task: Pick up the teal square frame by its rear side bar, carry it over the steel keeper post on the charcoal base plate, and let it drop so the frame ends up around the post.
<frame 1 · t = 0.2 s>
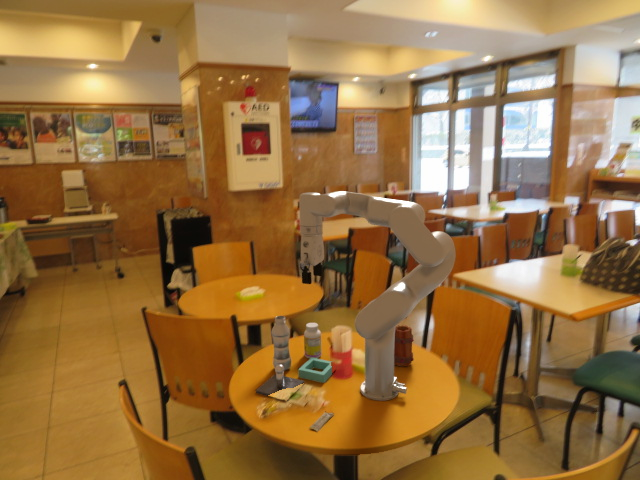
hand: (312, 279, 149), 36 cm above the table, tool pointing down, fingers open, 9 cm apart
mug: (395, 362, 165), on the table
supplement bottle: (313, 356, 171), on the table
snack bar: (322, 423, 129), on the table
teal square frame: (317, 373, 157), on the table
keeper: (280, 388, 148), on the table
plastic bottle: (282, 369, 162), on the table
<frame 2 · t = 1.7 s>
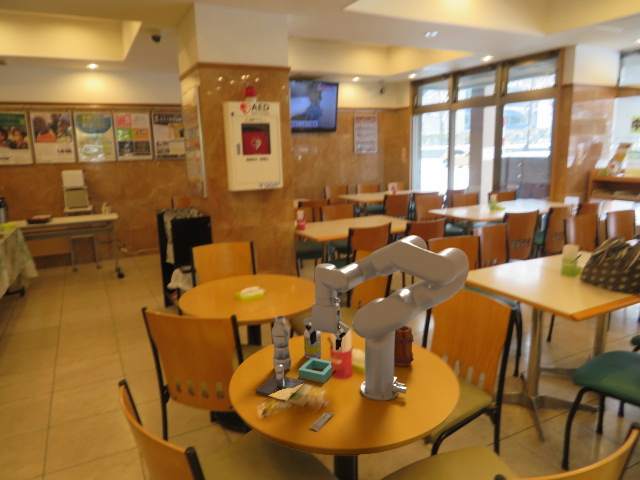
hand: (325, 345, 154), 11 cm above the table, tool pointing down, fingers open, 9 cm apart
nothing on the table moved.
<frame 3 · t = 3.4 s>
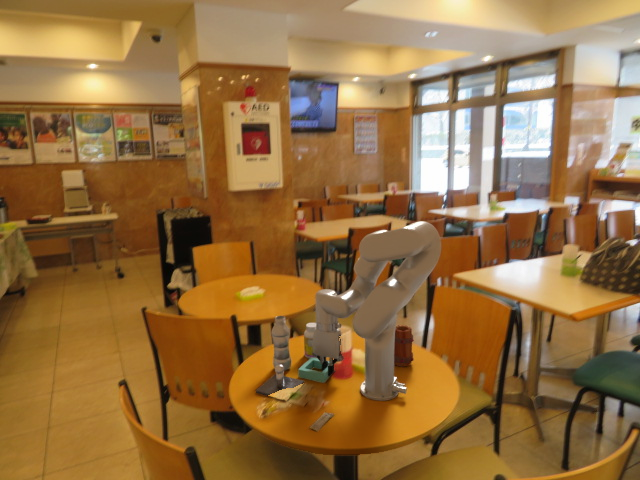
hand: (328, 373, 155), 1 cm above the table, tool pointing down, fingers closed on teal square frame
teal square frame: (317, 373, 157), on the table, touching gripper
everything else where it was.
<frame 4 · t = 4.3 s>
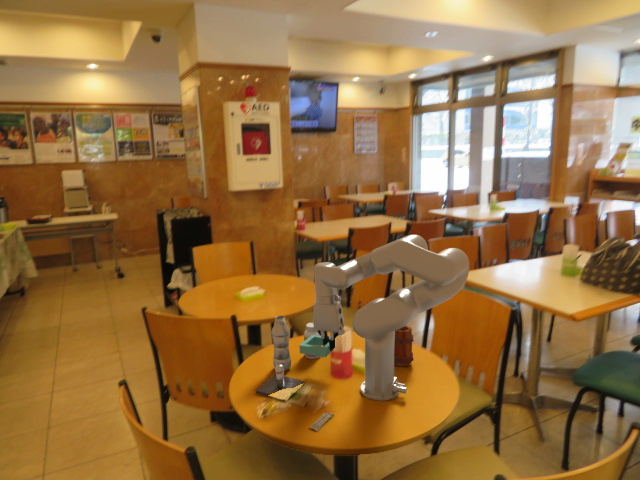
hand: (329, 348, 153), 11 cm above the table, tool pointing down, fingers closed on teal square frame
teal square frame: (319, 349, 155), point 10 cm above the table, touching gripper
everything else where it was.
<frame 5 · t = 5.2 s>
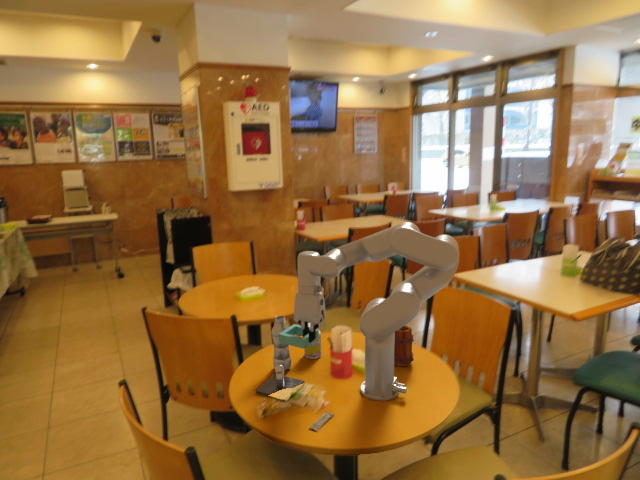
hand: (309, 339, 149), 16 cm above the table, tool pointing down, fingers closed on teal square frame
teal square frame: (298, 339, 151), point 15 cm above the table, touching gripper
everything else where it was.
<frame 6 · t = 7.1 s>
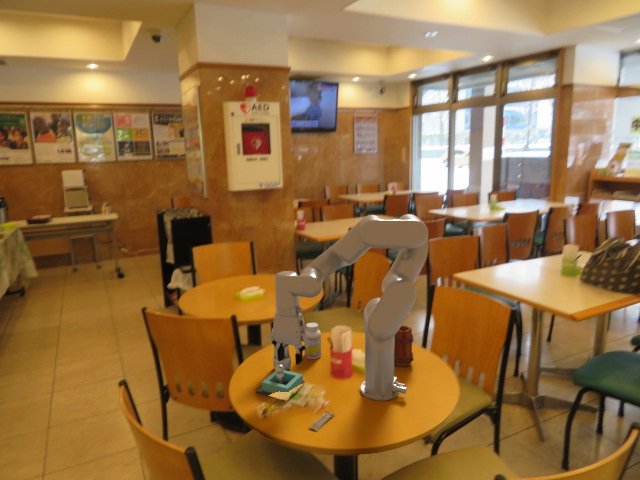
hand: (290, 360, 144), 11 cm above the table, tool pointing down, fingers open, 6 cm apart
teal square frame: (282, 386, 147), point 1 cm above the table, touching keeper
everything else where it was.
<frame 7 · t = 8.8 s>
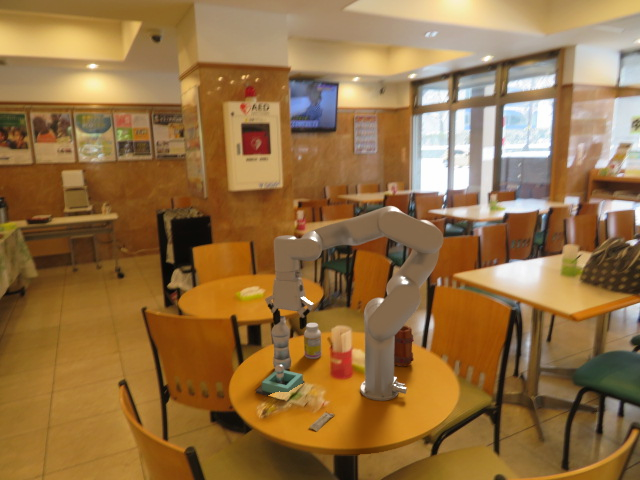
hand: (290, 325, 142), 23 cm above the table, tool pointing down, fingers open, 9 cm apart
nothing on the table moved.
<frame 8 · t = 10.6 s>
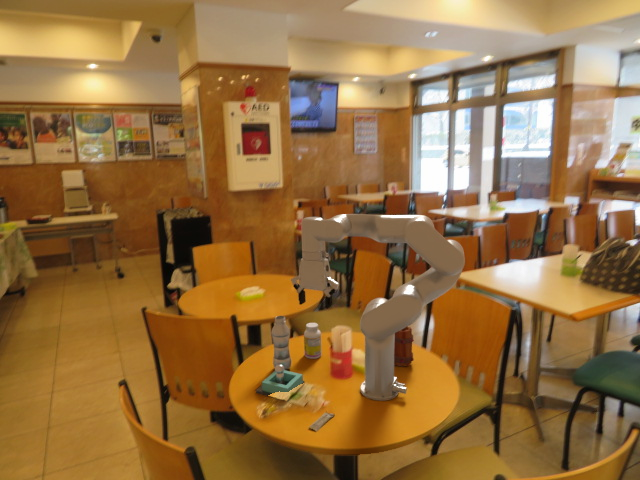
hand: (315, 305, 145), 28 cm above the table, tool pointing down, fingers open, 9 cm apart
nothing on the table moved.
at the end: teal square frame 1.0 cm from the keeper (horizontally); teal square frame point 1.0 cm above the table; the gripper is holding nothing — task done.
